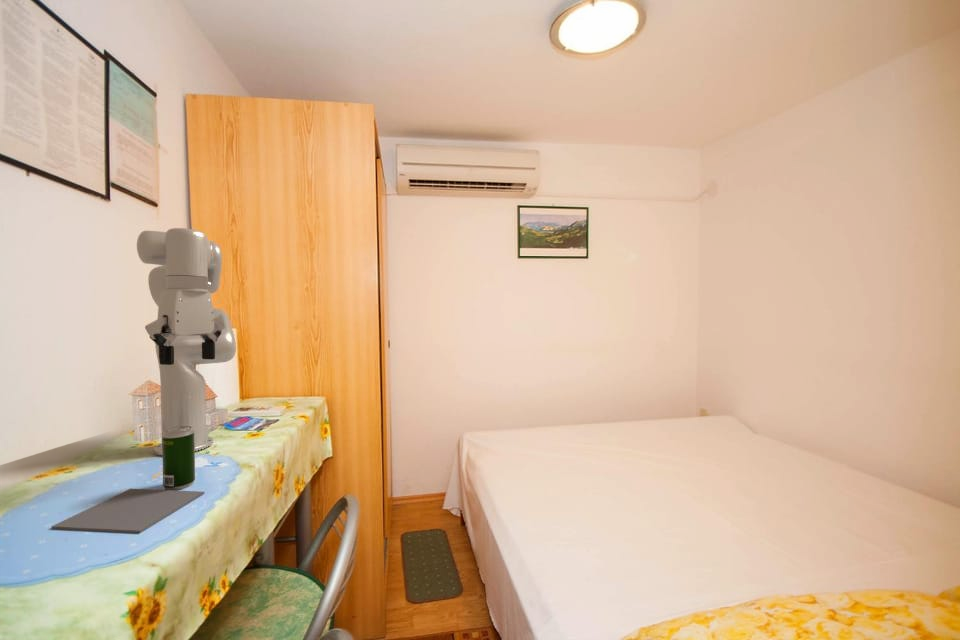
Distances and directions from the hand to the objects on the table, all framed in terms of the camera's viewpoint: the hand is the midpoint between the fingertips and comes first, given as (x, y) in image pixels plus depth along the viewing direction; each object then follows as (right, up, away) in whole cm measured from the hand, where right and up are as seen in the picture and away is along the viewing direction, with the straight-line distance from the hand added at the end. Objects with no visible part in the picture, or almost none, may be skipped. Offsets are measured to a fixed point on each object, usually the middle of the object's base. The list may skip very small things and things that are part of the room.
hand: (188, 361), depth 88 cm
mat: (+1, -26, -15) cm, 30 cm away
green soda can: (+2, -26, -5) cm, 26 cm away
